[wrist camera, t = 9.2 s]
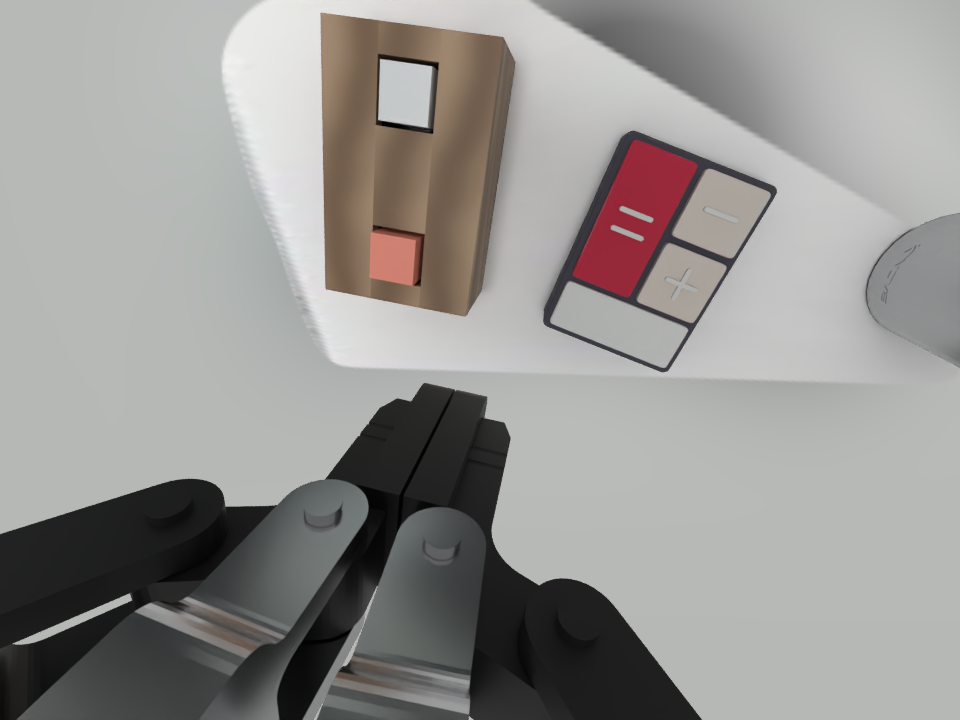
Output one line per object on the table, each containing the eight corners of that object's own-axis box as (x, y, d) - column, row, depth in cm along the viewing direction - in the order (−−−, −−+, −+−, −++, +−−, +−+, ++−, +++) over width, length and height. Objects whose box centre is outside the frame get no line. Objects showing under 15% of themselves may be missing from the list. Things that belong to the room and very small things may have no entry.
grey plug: (457, 84, 32) (432, 66, 25) (452, 133, 33) (427, 127, 27) (415, 78, 32) (380, 58, 26) (412, 127, 33) (378, 119, 27)
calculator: (786, 188, 28) (668, 378, 34) (758, 187, 32) (657, 358, 38) (631, 126, 28) (540, 327, 34) (621, 133, 32) (542, 312, 38)
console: (515, 62, 31) (503, 37, 24) (481, 290, 38) (465, 316, 32) (368, 41, 32) (320, 12, 25) (363, 268, 39) (325, 289, 33)
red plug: (441, 225, 35) (415, 240, 29) (437, 264, 37) (412, 285, 30) (404, 219, 36) (370, 232, 29) (401, 257, 37) (369, 277, 31)
